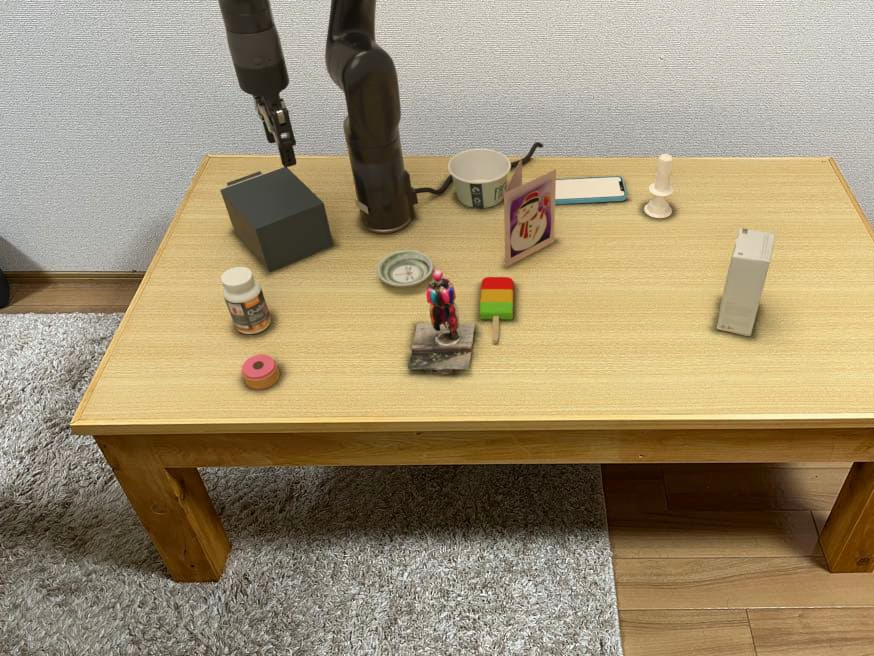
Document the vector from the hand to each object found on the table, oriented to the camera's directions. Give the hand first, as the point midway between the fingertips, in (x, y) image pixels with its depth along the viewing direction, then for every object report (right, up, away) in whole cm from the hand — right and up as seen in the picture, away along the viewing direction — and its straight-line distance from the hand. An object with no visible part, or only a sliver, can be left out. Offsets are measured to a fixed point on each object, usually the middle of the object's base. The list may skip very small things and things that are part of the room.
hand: (282, 153), depth 128 cm
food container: (+31, -1, +23) cm, 39 cm away
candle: (+66, -5, +20) cm, 69 cm away
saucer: (+20, -20, +6) cm, 29 cm away
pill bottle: (-4, -29, -3) cm, 29 cm away
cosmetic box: (+76, -28, 0) cm, 80 cm away
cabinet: (-4, -12, +12) cm, 17 cm away
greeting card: (+39, -13, +12) cm, 43 cm away
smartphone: (+52, 0, +24) cm, 57 cm away
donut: (+1, -38, -11) cm, 39 cm away
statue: (+28, -34, -6) cm, 44 cm away
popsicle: (+36, -27, 0) cm, 45 cm away
